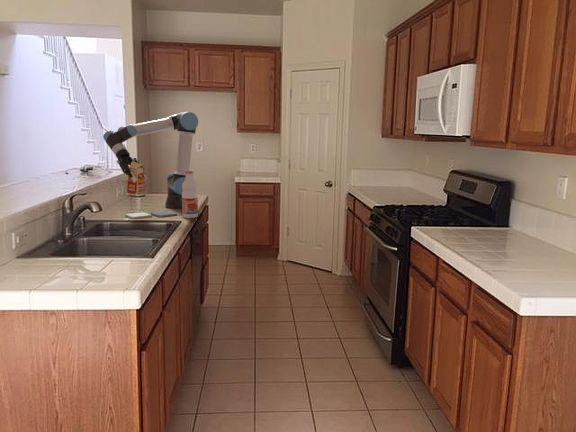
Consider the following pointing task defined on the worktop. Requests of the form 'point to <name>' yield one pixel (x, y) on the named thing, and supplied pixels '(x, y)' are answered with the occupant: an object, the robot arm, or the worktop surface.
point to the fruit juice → (189, 196)
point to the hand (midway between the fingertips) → (141, 180)
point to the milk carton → (139, 185)
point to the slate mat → (163, 214)
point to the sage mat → (138, 215)
